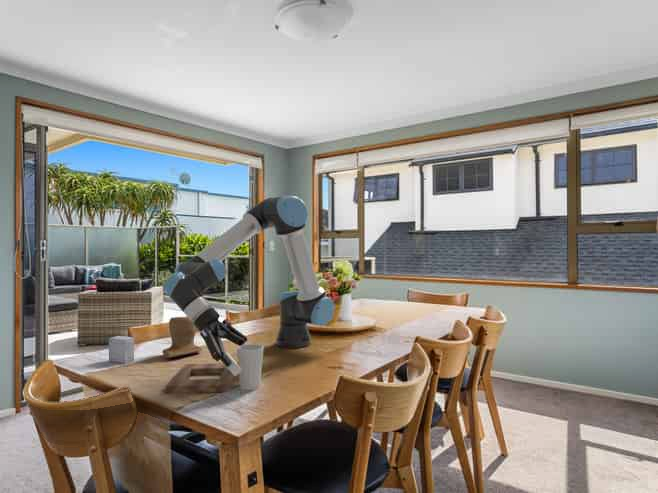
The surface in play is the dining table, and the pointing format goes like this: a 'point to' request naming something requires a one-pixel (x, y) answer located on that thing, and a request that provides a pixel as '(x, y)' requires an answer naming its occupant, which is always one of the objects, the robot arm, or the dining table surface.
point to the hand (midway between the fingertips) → (247, 366)
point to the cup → (250, 366)
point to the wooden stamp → (181, 337)
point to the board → (200, 385)
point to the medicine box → (121, 349)
